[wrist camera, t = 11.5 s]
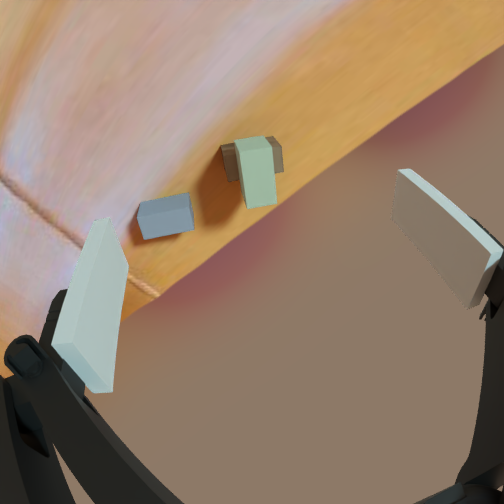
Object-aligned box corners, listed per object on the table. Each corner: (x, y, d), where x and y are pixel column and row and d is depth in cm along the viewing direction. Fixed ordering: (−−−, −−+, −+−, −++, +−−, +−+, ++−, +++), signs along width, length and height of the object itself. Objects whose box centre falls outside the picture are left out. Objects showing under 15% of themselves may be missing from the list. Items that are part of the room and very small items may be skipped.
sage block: (268, 187, 46) (277, 203, 42) (241, 192, 46) (247, 209, 42) (263, 135, 42) (271, 146, 38) (234, 140, 41) (239, 152, 37)
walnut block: (224, 168, 49) (228, 182, 45) (220, 145, 46) (223, 156, 42) (275, 159, 49) (283, 171, 45) (273, 135, 47) (281, 146, 43)
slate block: (147, 222, 52) (144, 239, 48) (140, 202, 49) (136, 217, 45) (193, 213, 52) (194, 229, 49) (188, 192, 50) (189, 207, 46)
